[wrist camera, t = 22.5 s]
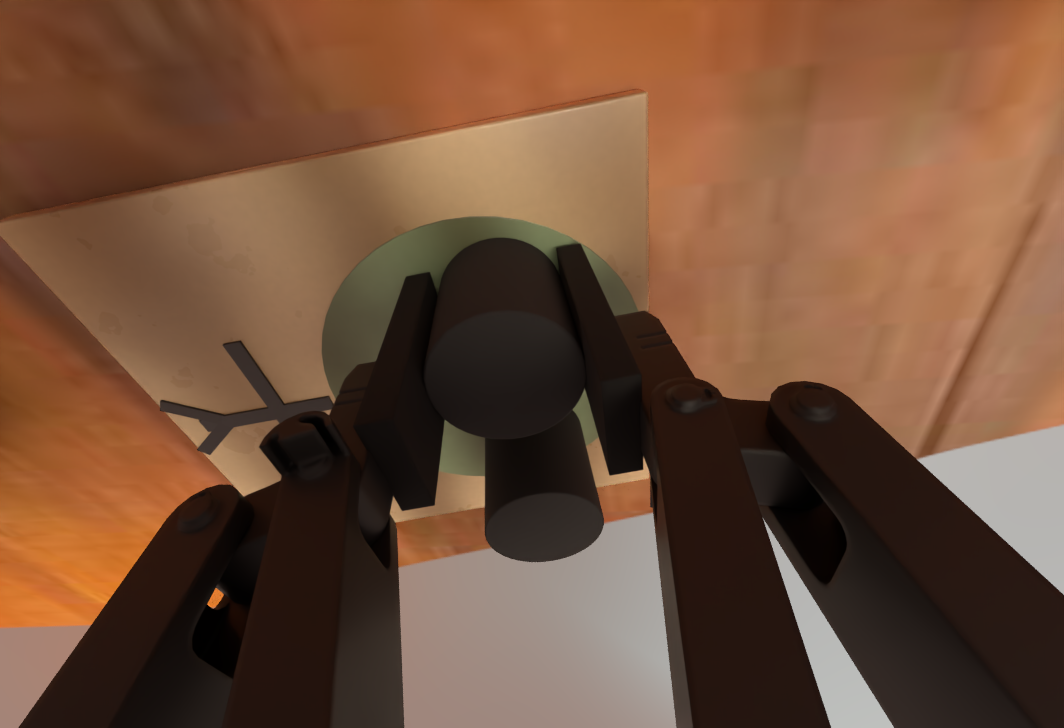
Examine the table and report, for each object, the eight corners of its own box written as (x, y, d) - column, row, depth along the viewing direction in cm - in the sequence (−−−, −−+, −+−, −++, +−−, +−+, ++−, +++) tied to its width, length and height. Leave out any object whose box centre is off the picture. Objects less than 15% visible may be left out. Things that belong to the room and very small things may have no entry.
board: (291, 527, 22) (284, 544, 21) (12, 214, 12) (-17, 225, 12) (644, 465, 22) (650, 480, 21) (640, 87, 12) (650, 91, 11)
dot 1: (422, 250, 13) (398, 330, 10) (553, 225, 13) (579, 296, 9) (458, 356, 16) (449, 451, 12) (569, 335, 15) (594, 426, 12)
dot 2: (496, 471, 19) (498, 570, 16) (474, 406, 17) (471, 505, 13) (584, 456, 19) (607, 552, 16) (575, 388, 17) (600, 483, 13)
